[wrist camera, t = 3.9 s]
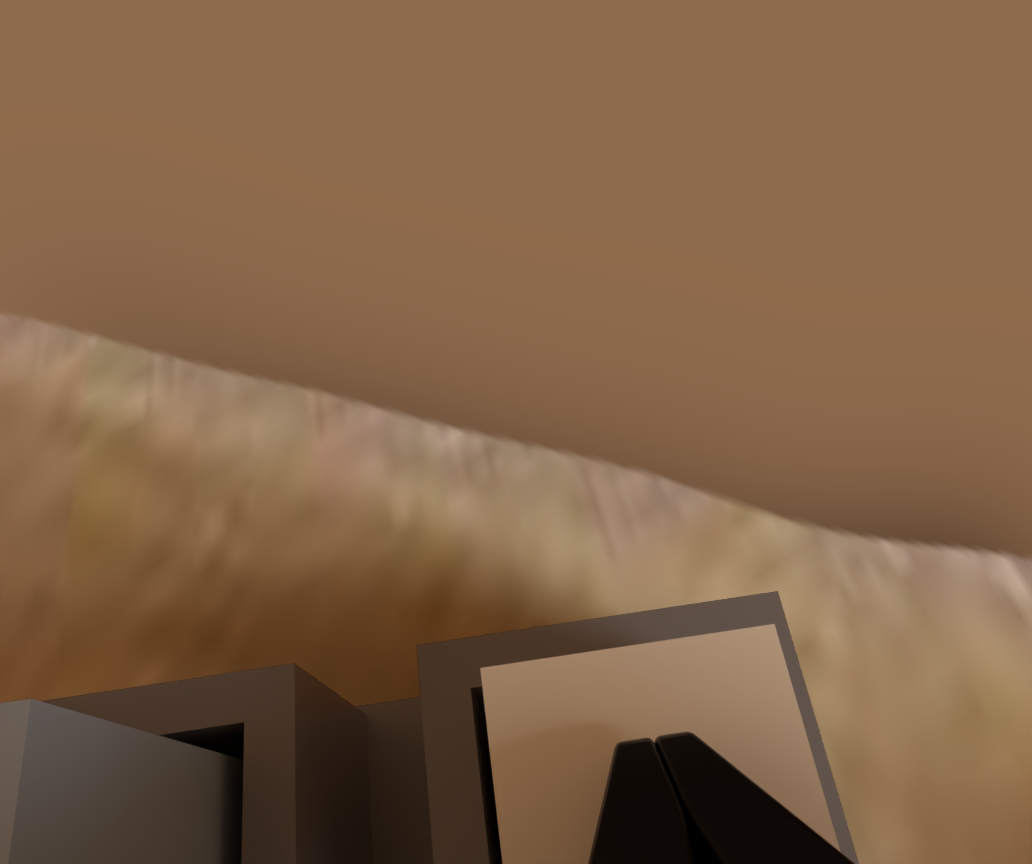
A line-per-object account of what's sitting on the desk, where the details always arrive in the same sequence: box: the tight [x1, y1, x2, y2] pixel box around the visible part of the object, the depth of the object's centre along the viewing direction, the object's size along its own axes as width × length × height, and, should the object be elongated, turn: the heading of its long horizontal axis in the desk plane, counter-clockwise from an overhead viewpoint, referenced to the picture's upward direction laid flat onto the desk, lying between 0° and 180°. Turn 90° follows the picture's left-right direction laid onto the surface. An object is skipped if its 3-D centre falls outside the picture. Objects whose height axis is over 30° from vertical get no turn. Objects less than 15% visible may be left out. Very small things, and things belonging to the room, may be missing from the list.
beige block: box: [480, 624, 840, 864], centre depth 12 cm, size 4×4×7 cm
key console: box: [41, 591, 859, 864], centre depth 15 cm, size 6×15×6 cm, turn 98°
